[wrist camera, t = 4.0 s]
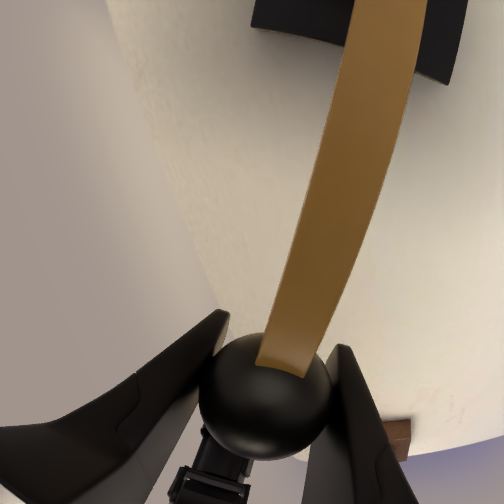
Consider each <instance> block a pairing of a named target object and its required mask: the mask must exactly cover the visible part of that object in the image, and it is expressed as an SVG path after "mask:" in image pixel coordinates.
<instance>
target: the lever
mask: <svg viewBox="0 0 504 504" xmlns="http://www.w3.org/2000/svg"><path fill="white" fill-rule="evenodd" d="M426 6H427V0H355V2H354V6H353V11H352V15H351V20H350V24H349V28H348V33H347V37H346V41H345V46H344V50H343V54H342V58H341V62H340V67H339V71H338V75H337V79H336V83H335V87H334V91H333V95H332V99H331V103H330V107H329V111H328V114H327V118H326V122H325V126H324V130H323V134H322V137H321V141H320V145H319V149H318V152H317V156H316V160H315V163H314V167H313V171H312V174H311V178H310V181H309V185H308V189H307V192H306V196H305V199H304V203H303V206H302V210H301V213H300V217H299V220H298V224H297V227H296V230H295V234H294V237H293V241H292V244H291V247H290V251H289V254H288V257H287V261H286V264H285V267H284V271H283V274H282V277H281V280H280V284H279V287H278V290H277V293H276V297H275V300H274V303H273V306H272V309H271V313H270V316H269V319H268V322H267V325H266V328H265V331H264V332H263V333H255V334H250V335H246V336H243V337H240V338H238V339H236V340H234V341H232V342H230V343H229V344H227V345H225V346H224V347H223V348H222V349H221V350H219V351H218V352H217V353H216V354H215V356H214V357H213V358H212V359H211V360H210V362H209V363H208V365H207V367H206V369H205V370H204V373H203V375H202V378H201V381H200V385H199V393H198V403H199V408H200V414H201V416H202V419H203V422H204V424H205V426H206V428H207V429H208V431H209V432H210V434H211V435H212V436H213V438H214V439H215V440H216V441H217V442H218V443H219V444H220V445H222V446H223V447H224V448H226V449H227V450H229V451H230V452H232V453H234V454H236V455H238V456H241V457H244V458H247V459H252V460H259V461H271V460H278V459H283V458H286V457H289V456H292V455H294V454H296V453H298V452H300V451H302V450H303V449H305V448H306V447H308V446H309V445H310V444H311V443H312V442H313V441H315V439H316V438H317V437H318V436H319V435H320V433H321V432H322V431H323V429H324V427H325V426H326V424H327V422H328V420H329V417H330V413H331V410H332V404H333V387H332V382H331V378H330V375H329V372H328V370H327V368H326V366H325V365H324V363H323V361H322V360H321V359H320V357H319V356H318V355H317V354H316V352H317V349H318V347H319V345H320V343H321V341H322V339H323V337H324V334H325V332H326V330H327V328H328V325H329V323H330V321H331V319H332V316H333V314H334V312H335V310H336V307H337V305H338V303H339V300H340V298H341V295H342V293H343V291H344V288H345V286H346V283H347V281H348V279H349V276H350V274H351V271H352V269H353V266H354V264H355V261H356V258H357V256H358V253H359V251H360V248H361V245H362V243H363V240H364V237H365V235H366V232H367V229H368V226H369V224H370V221H371V218H372V215H373V212H374V209H375V207H376V204H377V201H378V198H379V195H380V192H381V189H382V186H383V183H384V179H385V176H386V173H387V170H388V167H389V164H390V160H391V157H392V154H393V150H394V147H395V144H396V140H397V137H398V133H399V129H400V126H401V122H402V118H403V115H404V111H405V107H406V103H407V99H408V95H409V91H410V87H411V83H412V78H413V74H414V69H415V65H416V60H417V55H418V51H419V46H420V40H421V35H422V30H423V24H424V18H425V12H426Z"/></svg>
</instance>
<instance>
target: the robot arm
mask: <svg viewBox="0 0 504 504" xmlns="http://www.w3.org/2000/svg"><path fill="white" fill-rule="evenodd" d="M229 320H230V313H229V312H227V311H224V310H221V309H216V310H215V311H214V312H212V313H211V314H210V315H209V316H207V317H206V318H205V319H203V320H202V321H201V322H200V323H198V324H197V325H196V326H195V327H193V328H192V329H191V330H189V331H188V332H187V333H186V334H184V335H183V336H182V337H180V338H179V339H178V340H176V341H175V342H174V343H173V344H171V345H170V346H169V347H167V348H166V349H165V350H164V351H163V352H161V353H160V354H158V355H157V356H156V357H154V358H153V359H152V360H151V361H149V362H148V363H147V364H145V365H144V366H143V367H142V368H140V369H139V370H137V371H136V373H133V374H132V375H131V376H129V377H128V378H127V379H126V380H124V381H123V382H121V383H120V384H118V385H117V386H116V387H114V388H113V389H111V390H110V391H108V392H106V393H105V394H103V395H101V396H100V397H98V398H96V399H94V400H93V401H91V402H89V403H87V404H85V405H84V406H82V407H80V408H78V409H76V410H75V411H73V412H71V413H69V414H67V415H65V416H63V417H61V418H59V419H57V420H54V421H51V422H47V423H41V424H31V425H20V426H6V427H0V504H144V503H145V501H146V500H147V498H148V495H149V494H150V492H151V490H152V489H153V486H154V485H155V483H156V481H157V479H158V477H159V475H160V474H161V472H162V470H163V468H164V466H165V464H166V463H167V461H168V459H169V457H170V455H171V453H172V451H173V450H174V448H175V446H176V444H177V442H178V440H179V438H180V436H181V434H182V433H183V431H184V429H185V427H186V425H187V423H188V421H189V419H190V417H191V415H192V414H193V412H194V410H195V408H196V406H197V404H198V393H199V385H200V381H201V378H202V375H203V373H204V370H205V369H206V367H207V365H208V363H209V362H210V360H211V359H212V358H213V357H214V356H215V354H216V353H217V352H218V351H219V350H221V348H222V345H223V343H224V340H225V337H226V334H227V330H228V325H229ZM325 366H326V368H327V370H328V372H329V375H330V378H331V382H332V387H333V404H332V410H331V413H330V417H329V420H328V422H327V424H326V426H325V427H324V429H323V431H322V432H321V433H320V435H319V436H318V437H317V438H316V439H315V441H313V442H312V443H311V446H310V453H309V460H308V467H307V473H306V480H305V486H304V492H303V497H302V503H301V504H419V503H418V501H417V499H416V497H415V495H414V493H413V491H412V489H411V487H410V485H409V483H408V481H407V479H406V477H405V475H404V473H403V471H402V469H401V467H400V464H399V462H398V460H397V457H396V455H395V453H394V450H393V447H392V445H391V443H390V442H389V437H388V435H387V432H386V430H385V427H384V425H383V422H382V420H381V418H380V415H379V413H378V410H377V408H376V405H375V403H374V401H373V398H372V396H371V393H370V391H369V389H368V386H367V384H366V381H365V379H364V377H363V374H362V372H361V370H360V368H359V365H358V363H357V361H356V358H355V356H354V354H353V351H352V349H351V348H350V347H349V346H347V345H343V344H337V345H336V346H335V347H334V349H333V351H332V352H331V354H330V356H329V357H328V359H327V362H326V365H325ZM200 431H201V433H202V434H203V439H202V442H201V444H200V447H199V449H198V452H197V455H196V457H195V460H194V462H193V465H192V468H190V467H189V466H186V465H185V467H180V468H179V470H178V473H177V475H176V477H175V479H174V481H173V483H172V485H171V487H170V489H169V491H168V493H167V495H168V496H169V498H170V499H169V501H170V503H169V504H247V500H248V496H249V491H250V487H251V485H249V484H243V482H244V479H245V477H247V478H248V477H249V476H250V473H251V469H252V466H253V462H254V460H252V459H247V458H244V457H241V456H238V455H236V454H234V453H232V452H230V451H229V450H227V449H226V448H224V447H223V446H222V445H220V444H219V443H218V442H217V441H216V440H215V439H214V438H213V436H212V435H211V434H210V432H209V431H208V429H207V428H204V427H201V429H200ZM187 478H188V479H190V480H187ZM239 494H240V495H239Z"/></svg>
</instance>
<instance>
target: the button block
mask: <svg viewBox="0 0 504 504" xmlns="http://www.w3.org/2000/svg"><path fill="white" fill-rule="evenodd" d="M383 425H384V427H385V430H386V432H387V435H388V437H389V442H390V443H391V445H392V447H393V450H394V453H395V455H396V457H397V460H398V462H402V461H406V460H407V456H408V451H409V446H410V441H411V420H402V421H393V422H383Z"/></svg>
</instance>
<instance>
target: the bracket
mask: <svg viewBox="0 0 504 504" xmlns="http://www.w3.org/2000/svg"><path fill="white" fill-rule="evenodd" d="M354 2H355V0H256V1H255V6H254V11H253V15H252V20H251V25H250V26H251V27H252V28H254V29H257V30H262V31H268V32H274V33H280V34H285V35H290V36H295V37H299V38H304V39H308V40H313V41H317V42H321V43H325V44H329V45H333V46H336V47H340V48H344V46H345V41H346V37H347V33H348V28H349V24H350V20H351V15H352V11H353V6H354ZM467 4H468V0H427V6H426V12H425V18H424V24H423V30H422V35H421V40H420V46H419V51H418V55H417V60H416V65H415V69H414V73H416V74H418V75H421V76H423V77H425V78H428V79H430V80H432V81H435V82H437V83H439V84H443V85H447V86H448V85H449V82H450V79H451V75H452V71H453V67H454V64H455V60H456V56H457V52H458V47H459V43H460V39H461V34H462V30H463V25H464V20H465V15H466V9H467Z"/></svg>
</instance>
